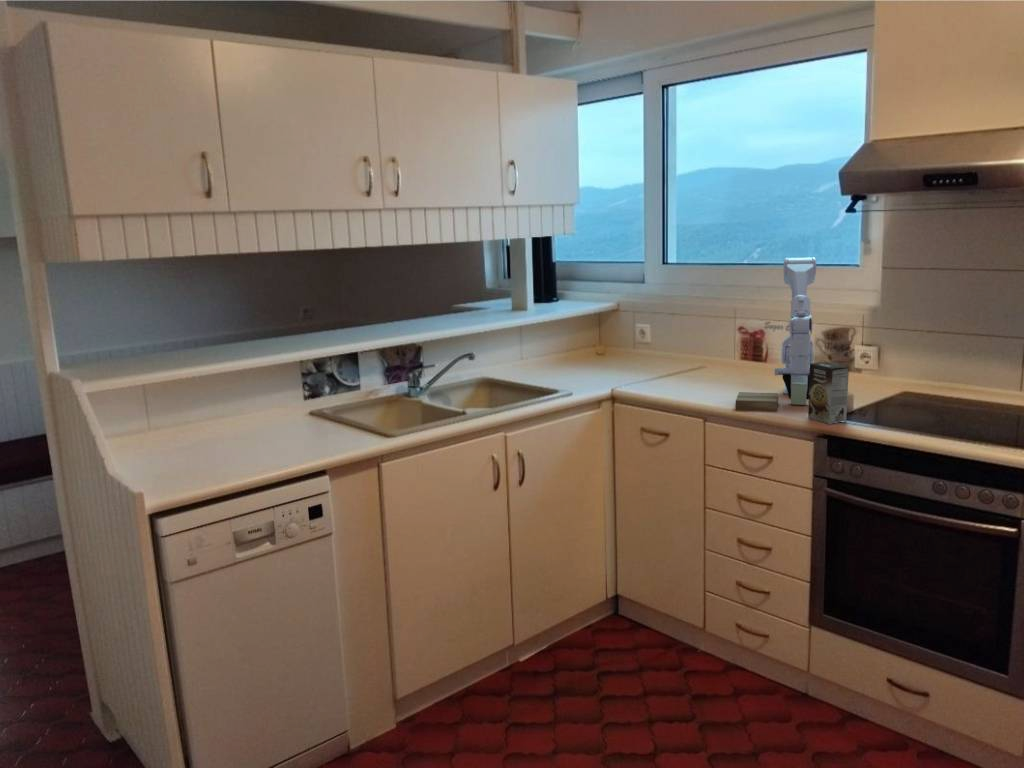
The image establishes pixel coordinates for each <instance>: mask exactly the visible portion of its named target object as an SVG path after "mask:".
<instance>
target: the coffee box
mask: <svg viewBox="0 0 1024 768" xmlns="http://www.w3.org/2000/svg"><path fill="white" fill-rule="evenodd" d="M809 368H810V374H809V399H808V406H807V407H808V409H807V410H808V412H807V413H808V414H807V417H808V419H810V418H811V420H815V421H816V422H820V421H821V422H820V423H824V424H827V425H833V424H832V423H836V422H841V421H846V422H847V414H848V412H847V395H848V393H849V371H850V367H849V366H846V365H844V364H843V365H842V364H838V363H833V362H829V361H824V362H821V361H820V362H813V363H811V364H809ZM836 424H837V423H836Z"/></svg>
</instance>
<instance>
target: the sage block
mask: <svg viewBox="0 0 1024 768" xmlns="http://www.w3.org/2000/svg"><path fill="white" fill-rule="evenodd" d="M806 395H807V383H797V382H792V383H791V399H790V405H800V406H801V405H803V406H804V405H805V406H807V399H806Z"/></svg>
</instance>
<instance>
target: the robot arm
mask: <svg viewBox="0 0 1024 768" xmlns="http://www.w3.org/2000/svg"><path fill="white" fill-rule="evenodd" d="M816 274H817V259H816V257H815V256H812V257H785V258H784V259H783V281H784V284H785V285H787V286H789V288H790V290H791V300H790V318H789V322H788V324H789V325H788V326H789V328H788V330H789V331H788V332H789V335H788V337H786V338H785V339H784V340H782V341H783V342H781V343H782V344H781V363H782V365H785V366H784V367H776V368H774V376H782V380H783V382H784V387H783V394H786V395H787V396H788V400H791V383H792V382H797V383H807V395H806V400H809V374H810V364H811V363H814V351H815V350H814V342H813V340H812V339H811V335H812V333H813V326H814V325H813V323H814V322H813V317H812V313H811V299H810V298H809V297H808V296H807V289H808V286H809V285H812V284H814V281H815V280H816V279H815V278H816Z"/></svg>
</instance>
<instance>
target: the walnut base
mask: <svg viewBox="0 0 1024 768" xmlns="http://www.w3.org/2000/svg"><path fill="white" fill-rule="evenodd" d="M779 396H780V394H779V393H778V392H776V393H775V392H773V393H772V392H749V391H748V392H745V391H742V392H741V391H739V392H738V393H737V396H736V398H735V411H750V410H761V411H760V412H776V411H777V412H778V406H779Z"/></svg>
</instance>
